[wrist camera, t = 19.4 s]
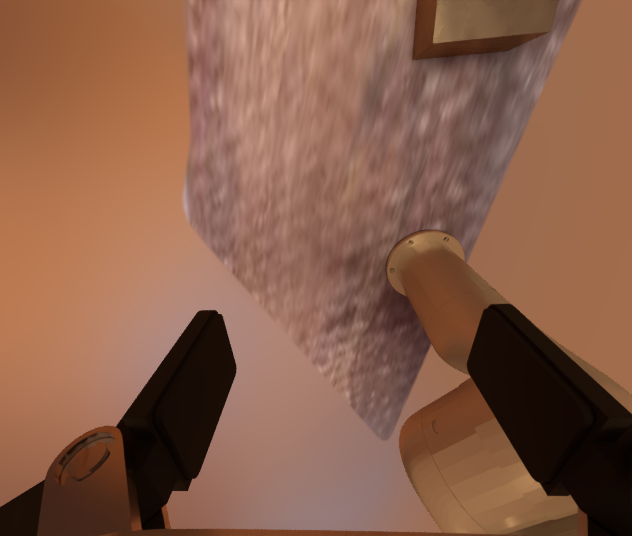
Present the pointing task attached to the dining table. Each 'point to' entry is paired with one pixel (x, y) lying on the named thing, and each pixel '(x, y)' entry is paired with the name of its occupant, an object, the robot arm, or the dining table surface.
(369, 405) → the dining table surface
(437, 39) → the block
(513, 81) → the dining table surface
